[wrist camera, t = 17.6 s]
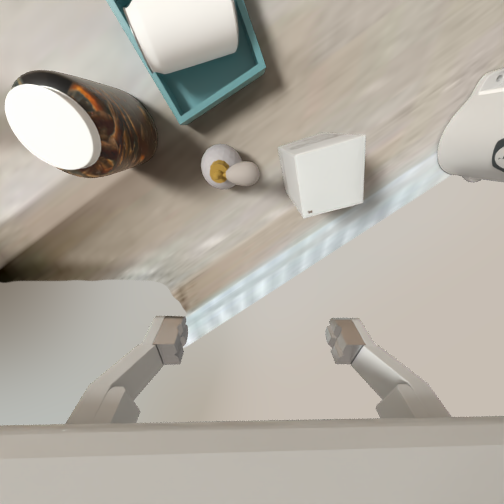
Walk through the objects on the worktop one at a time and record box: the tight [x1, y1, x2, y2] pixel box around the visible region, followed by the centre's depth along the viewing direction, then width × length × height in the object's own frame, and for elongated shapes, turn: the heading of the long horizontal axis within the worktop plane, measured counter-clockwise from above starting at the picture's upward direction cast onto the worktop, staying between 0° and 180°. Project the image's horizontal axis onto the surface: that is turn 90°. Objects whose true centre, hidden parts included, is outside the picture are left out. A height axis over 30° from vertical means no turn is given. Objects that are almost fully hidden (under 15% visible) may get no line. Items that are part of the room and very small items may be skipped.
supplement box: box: [278, 133, 366, 218], centre depth 32 cm, size 9×9×15 cm
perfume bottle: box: [201, 144, 260, 189], centre depth 32 cm, size 8×10×12 cm
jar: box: [5, 70, 158, 178], centre depth 28 cm, size 12×12×15 cm
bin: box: [106, 0, 266, 125], centre depth 27 cm, size 15×15×4 cm
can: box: [123, 0, 239, 74], centre depth 24 cm, size 6×6×12 cm
